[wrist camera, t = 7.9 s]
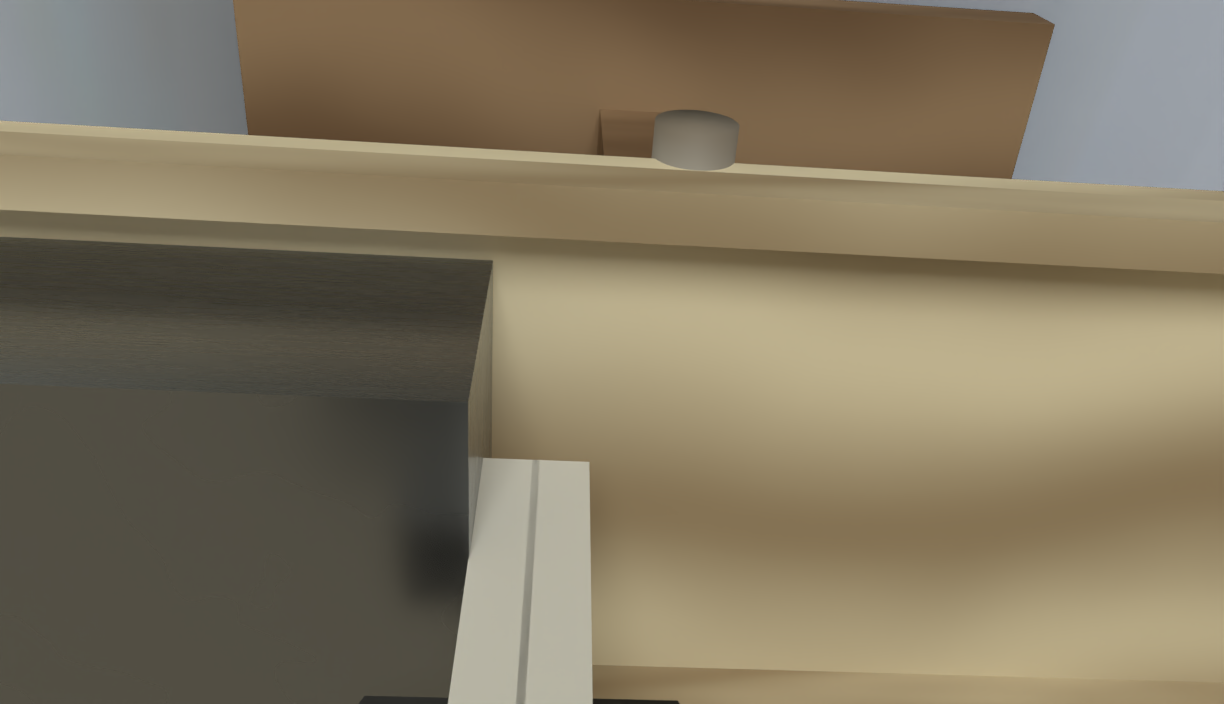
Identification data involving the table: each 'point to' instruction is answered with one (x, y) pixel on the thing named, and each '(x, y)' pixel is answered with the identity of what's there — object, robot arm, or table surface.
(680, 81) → the seesaw stand
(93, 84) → the table surface
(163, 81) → the table surface
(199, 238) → the seesaw beam
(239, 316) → the iron block
